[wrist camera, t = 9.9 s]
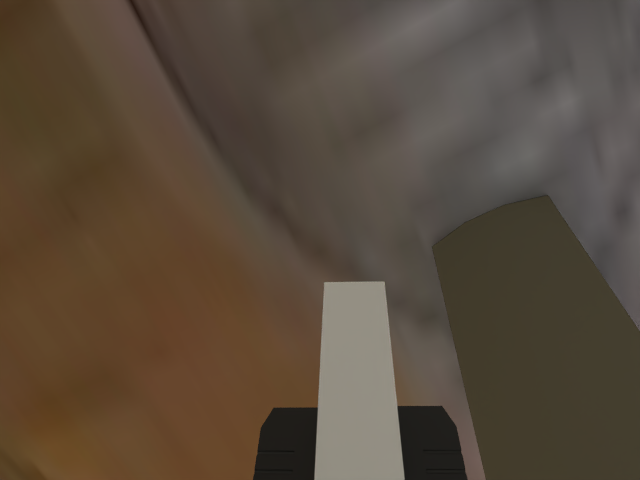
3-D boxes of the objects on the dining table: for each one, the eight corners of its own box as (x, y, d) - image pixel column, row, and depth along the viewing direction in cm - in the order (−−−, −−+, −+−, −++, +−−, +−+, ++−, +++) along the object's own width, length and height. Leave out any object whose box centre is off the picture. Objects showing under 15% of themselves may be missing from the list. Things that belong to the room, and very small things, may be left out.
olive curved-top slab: (426, 235, 45) (513, 621, 21) (541, 183, 42) (797, 558, 18) (523, 406, 54) (662, 813, 30) (623, 372, 51) (866, 792, 27)
